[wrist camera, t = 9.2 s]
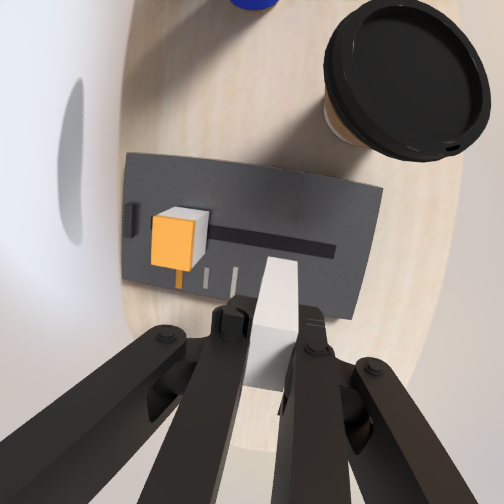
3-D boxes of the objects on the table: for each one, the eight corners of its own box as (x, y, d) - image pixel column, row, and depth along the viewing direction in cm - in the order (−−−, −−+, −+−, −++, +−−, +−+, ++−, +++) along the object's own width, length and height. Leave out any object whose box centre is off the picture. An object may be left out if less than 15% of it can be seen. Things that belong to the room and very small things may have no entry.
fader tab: (174, 206, 26) (153, 216, 22) (209, 211, 26) (192, 222, 21) (171, 247, 27) (151, 264, 23) (205, 253, 27) (189, 271, 22)
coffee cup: (327, 171, 26) (370, 186, 12) (294, 80, 24) (297, 0, 10) (414, 147, 24) (519, 145, 10) (382, 59, 22) (456, -15, 8)
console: (136, 152, 27) (122, 152, 25) (377, 185, 26) (386, 189, 23) (131, 271, 31) (118, 281, 28) (348, 310, 29) (353, 324, 27)
